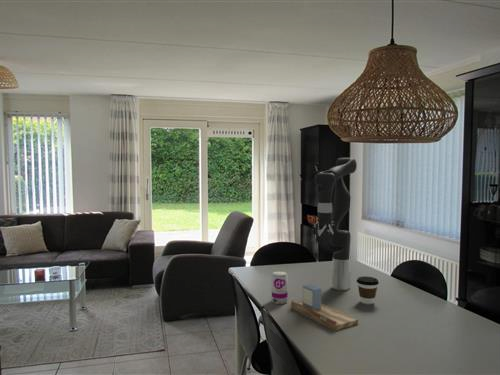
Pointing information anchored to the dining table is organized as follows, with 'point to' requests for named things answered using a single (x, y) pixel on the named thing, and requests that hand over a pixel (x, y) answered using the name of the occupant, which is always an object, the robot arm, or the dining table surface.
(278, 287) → the supplement can
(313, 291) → the carton
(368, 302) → the coffee cup
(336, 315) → the wooden plank
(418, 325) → the dining table surface
